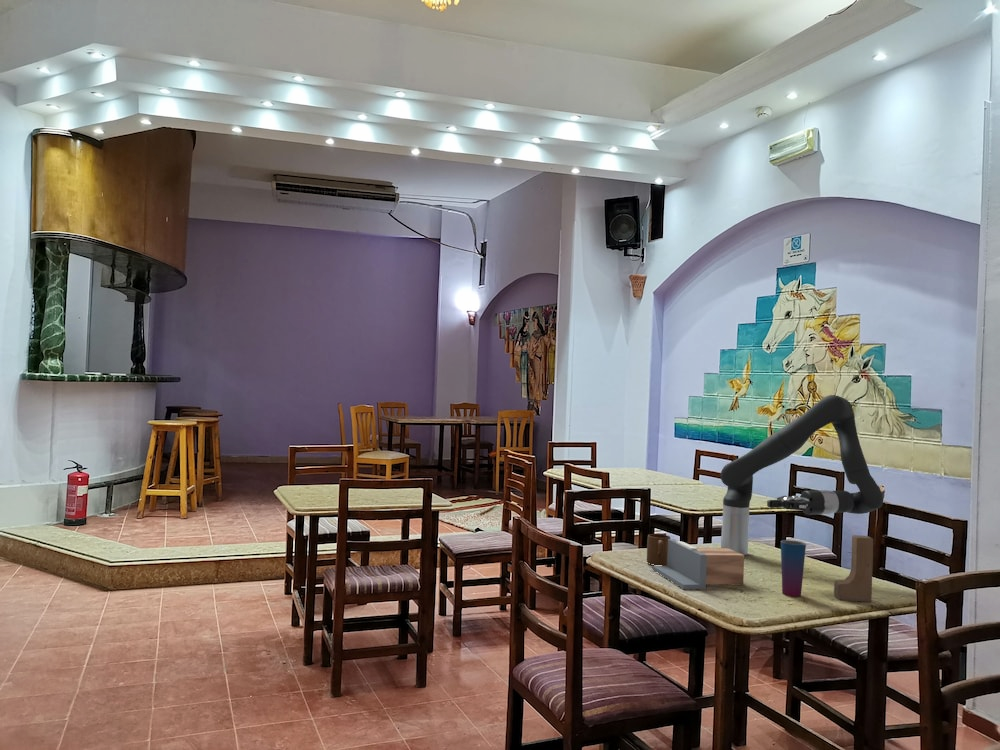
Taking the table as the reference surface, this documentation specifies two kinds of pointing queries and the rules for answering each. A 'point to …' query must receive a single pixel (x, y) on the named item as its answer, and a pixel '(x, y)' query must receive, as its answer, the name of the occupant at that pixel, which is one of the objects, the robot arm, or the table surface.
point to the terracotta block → (723, 566)
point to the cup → (792, 567)
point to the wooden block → (858, 572)
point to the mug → (657, 549)
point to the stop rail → (684, 565)
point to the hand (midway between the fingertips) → (768, 503)
